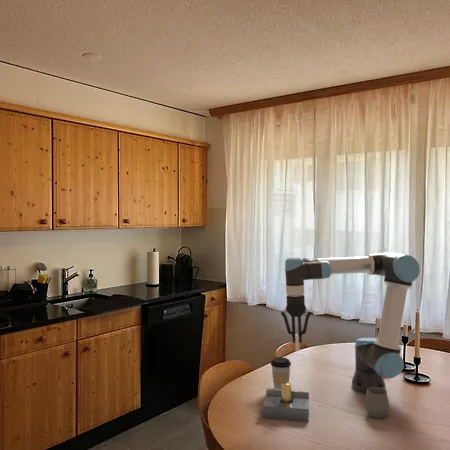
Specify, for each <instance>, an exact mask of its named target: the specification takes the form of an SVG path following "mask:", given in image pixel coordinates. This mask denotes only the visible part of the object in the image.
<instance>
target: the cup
mask: <svg viewBox="0 0 450 450" xmlns="http://www.w3.org/2000/svg"><path fill="white" fill-rule="evenodd" d="M388 398H389V397H388V391H387V390H386V389H382V388H378V387H371V388H368V389H367V392H366V394H365V400H364V407H365V410H366V411H367V413H368V415H369V416H370V417H373V418H378V419H381V418H385V417H386V415H387V413H388V411H389V410H390V404H389V403H390V402H389V399H388Z"/></svg>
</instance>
